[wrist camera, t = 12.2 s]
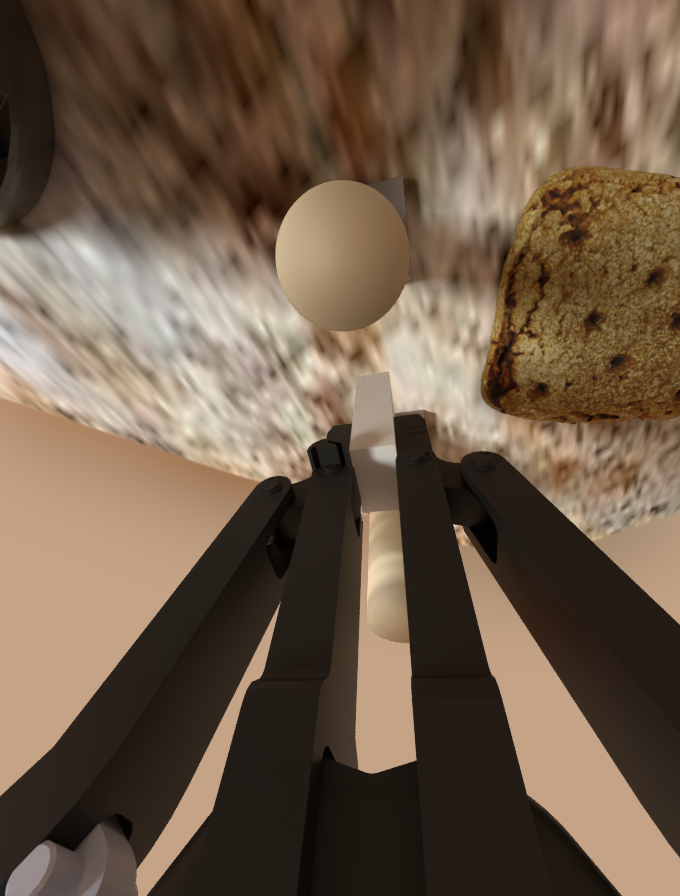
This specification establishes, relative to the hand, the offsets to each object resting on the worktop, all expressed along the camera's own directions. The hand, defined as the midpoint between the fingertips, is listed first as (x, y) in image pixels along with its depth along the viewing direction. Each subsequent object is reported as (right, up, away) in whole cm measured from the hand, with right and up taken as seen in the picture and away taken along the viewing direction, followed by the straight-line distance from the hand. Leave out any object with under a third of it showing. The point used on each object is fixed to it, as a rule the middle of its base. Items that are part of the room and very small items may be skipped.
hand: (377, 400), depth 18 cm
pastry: (+15, +6, +5) cm, 17 cm away
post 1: (0, +10, +4) cm, 11 cm away
